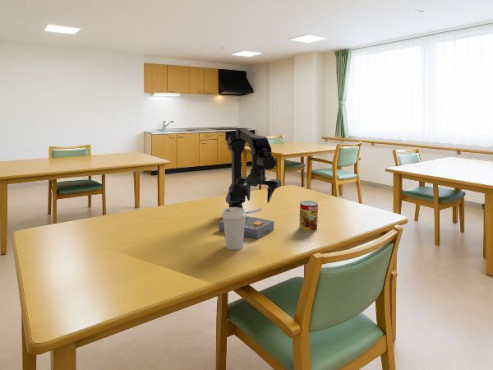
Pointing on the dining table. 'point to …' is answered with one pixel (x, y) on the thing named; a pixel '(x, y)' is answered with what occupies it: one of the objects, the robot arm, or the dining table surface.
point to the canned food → (308, 216)
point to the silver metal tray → (254, 227)
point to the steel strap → (253, 211)
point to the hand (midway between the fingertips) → (258, 201)
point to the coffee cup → (234, 227)
